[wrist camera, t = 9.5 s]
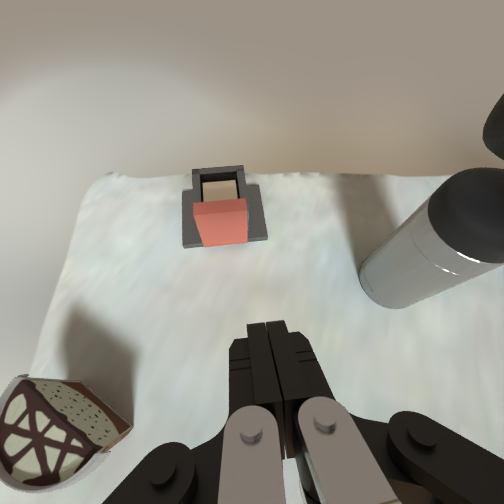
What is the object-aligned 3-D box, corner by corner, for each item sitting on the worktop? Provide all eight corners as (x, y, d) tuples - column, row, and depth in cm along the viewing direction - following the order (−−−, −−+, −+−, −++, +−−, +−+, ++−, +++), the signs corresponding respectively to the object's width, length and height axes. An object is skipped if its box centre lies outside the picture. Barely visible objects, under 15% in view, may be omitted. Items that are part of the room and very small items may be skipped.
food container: (34, 420, 32) (-50, 437, 23) (74, 374, 34) (11, 373, 25) (104, 489, 29) (39, 541, 20) (142, 434, 31) (100, 458, 22)
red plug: (241, 198, 45) (240, 159, 37) (247, 242, 41) (247, 210, 33) (201, 201, 45) (191, 163, 37) (204, 247, 41) (193, 215, 33)
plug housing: (258, 189, 48) (259, 163, 42) (267, 239, 43) (270, 219, 38) (183, 195, 47) (174, 170, 41) (184, 248, 42) (174, 228, 37)
